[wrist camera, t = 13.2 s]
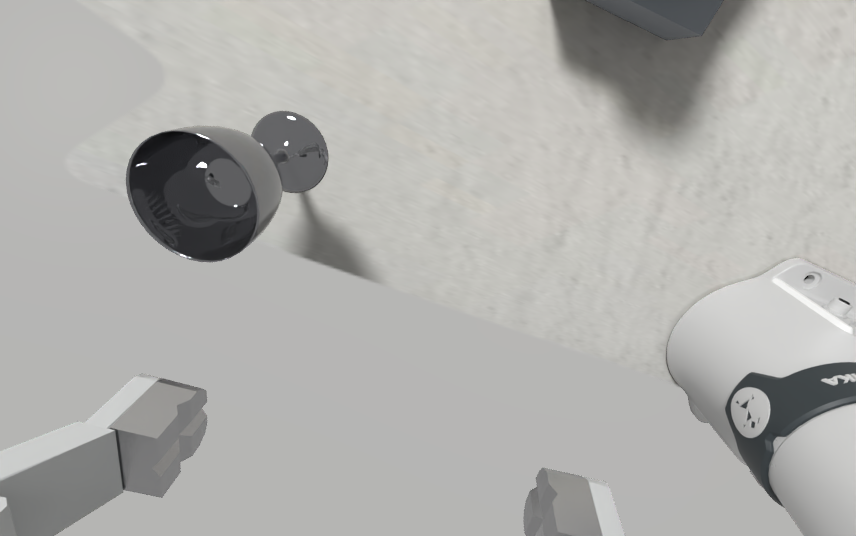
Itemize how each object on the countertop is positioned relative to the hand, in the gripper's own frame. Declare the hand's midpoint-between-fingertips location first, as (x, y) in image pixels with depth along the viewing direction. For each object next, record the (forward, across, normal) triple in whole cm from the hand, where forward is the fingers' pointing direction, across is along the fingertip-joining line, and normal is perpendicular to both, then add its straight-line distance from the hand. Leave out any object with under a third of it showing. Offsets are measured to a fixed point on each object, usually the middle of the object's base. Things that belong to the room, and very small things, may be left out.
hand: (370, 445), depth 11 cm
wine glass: (+31, +14, +2) cm, 34 cm away
